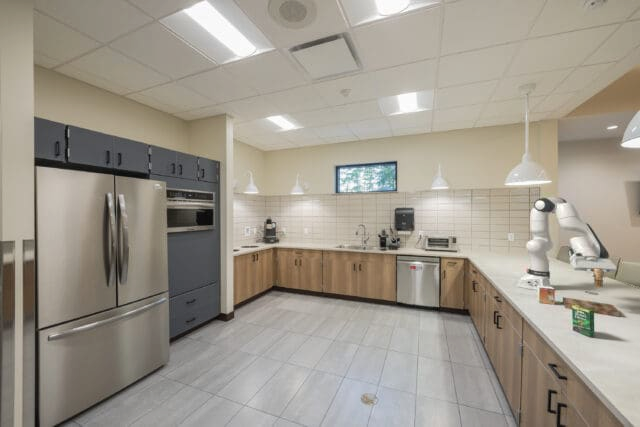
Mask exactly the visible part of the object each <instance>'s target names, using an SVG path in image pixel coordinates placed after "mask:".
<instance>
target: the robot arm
mask: <svg viewBox="0 0 640 427" xmlns="http://www.w3.org/2000/svg"><path fill="white" fill-rule="evenodd" d="M551 213H552V214H555V216H556V219H557V221H558V223H559V224H558V225H559V227H560V228H562V229H564V230H565V231H566V230H567V231H569V232H577V233H581V234H583V235H585V236H586V237H584V236H582V235H581V236H574V237H571V238H570V239H569V243H570V246H571V247H570V248H568V251H567V254H568V256H569V264H570V266H571V269H573V270H574V271H583V272H586V273H587V274H589V275H590V276H591V278H592V277H595V276H596V275H595V273H594V269H602V270H603V278H606V277H607V274H606V273H615V272H616V271H617V270H618V267H617V266H616V264H615V263H614V262H612V260H611V259H609V258H610V255H609V252H608V250H607V249H606V247H605V245H603V243H602V241H601V240H600V238H598V235H597V234H596V232H595V231H594V230H593V228H592V226H591V225H590V224H589V223H587V222H585V221H583V220H582V219H581V218H580V215H579V212H578V211H577V209H576V207H575V206H574V205H573V204H572V203H570V202H567V200H565V199H564V198H562V197H553V196H551V197H550V196H549V197H541V198H538V199H536V200H535V201H534V203H533V208H531V210H530V214H529V231H530V233H531V235H532V239H531V240H529V241H527V243H526V245H525V247H526V249H527V251H528V254H529V260H530V262H529V263H530V264H529V265H530V268H526V273H524V274H523V275H520V276H519V277H518V280H517V281H516V282H514V286H515V287H518V288H523V289H527V290H528V289H529V290H534V291H537V285H539V286H548V287H552V286H551V281H550V278H551V272H550V260H549V259H548V255H547V252H549V251H550V250H552V248H553V247H554V243H553V241H552V238H551V234H550V225H549V223H550V222H549V216H550V214H551Z"/></svg>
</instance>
